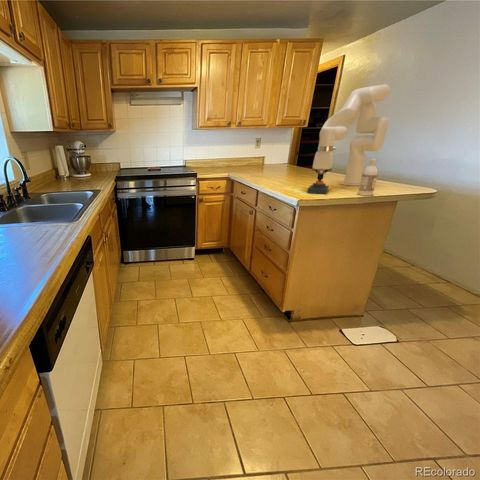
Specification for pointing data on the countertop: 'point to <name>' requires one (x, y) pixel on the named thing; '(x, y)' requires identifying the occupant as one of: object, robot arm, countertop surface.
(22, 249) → the countertop surface
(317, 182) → the nozzle
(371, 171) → the bath foam
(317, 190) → the dispenser
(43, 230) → the countertop surface
